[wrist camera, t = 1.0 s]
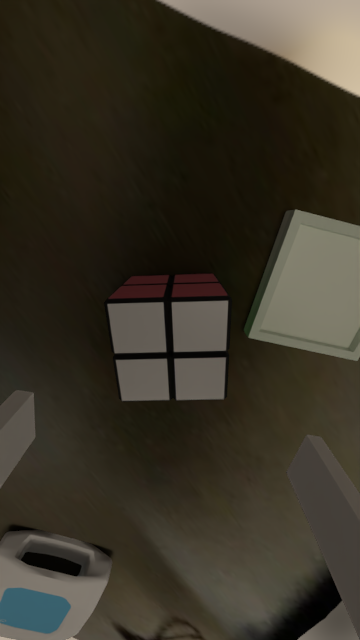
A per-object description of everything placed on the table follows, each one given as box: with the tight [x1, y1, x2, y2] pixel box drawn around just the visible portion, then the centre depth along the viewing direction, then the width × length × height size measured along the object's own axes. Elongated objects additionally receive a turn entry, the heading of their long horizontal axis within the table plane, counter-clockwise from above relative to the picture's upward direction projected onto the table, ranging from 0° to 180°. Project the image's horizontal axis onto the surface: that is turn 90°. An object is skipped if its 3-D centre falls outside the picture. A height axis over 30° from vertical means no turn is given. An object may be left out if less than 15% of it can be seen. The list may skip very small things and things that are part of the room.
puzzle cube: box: [104, 274, 232, 401], centre depth 24 cm, size 10×10×10 cm
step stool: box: [0, 530, 112, 640], centre depth 48 cm, size 21×28×6 cm
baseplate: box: [244, 210, 360, 361], centre depth 26 cm, size 14×14×2 cm
